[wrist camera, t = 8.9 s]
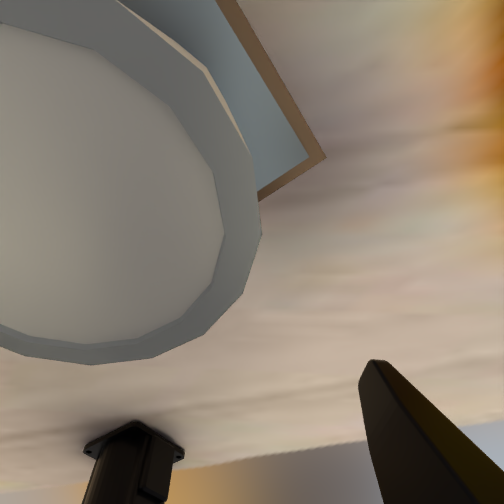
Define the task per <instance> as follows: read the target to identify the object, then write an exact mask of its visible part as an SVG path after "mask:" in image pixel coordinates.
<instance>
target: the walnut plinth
mask: <svg viewBox="0 0 504 504" xmlns="http://www.w3.org/2000/svg"><path fill="white" fill-rule="evenodd" d="M117 1H119V2H120V3H122V4H123V5H124V6H126V7H127V8H129V9H130V10H132V11H133V12H134V13H136V14H137V15H139V16H140V17H141V18H143V19H144V20H146V21H147V22H149V23H150V24H151V25H153V26H154V27H156V28H157V29H158V30H160V31H161V32H163V33H164V34H166V35H167V36H168V37H170V38H171V39H173V40H174V41H175V42H177V43H178V44H179V45H180V46H181V47H183V48H184V49H185V50H186V51H187V52H189V53H190V54H191V55H192V56H193V57H195V58H196V59H197V60H198V61H200V62H201V63H202V64H203V65H204V66H206V67H207V69H208V71H209V73H210V74H211V76H212V78H213V80H214V81H215V83H216V85H217V87H218V89H219V90H220V92H221V94H222V96H223V97H224V99H225V101H226V103H227V105H228V107H229V109H230V112H231V114H232V116H233V118H234V120H235V122H236V124H237V126H238V128H239V131H240V133H241V135H242V137H243V139H244V141H245V143H246V145H247V147H248V150H249V152H250V154H251V156H252V158H253V166H254V174H255V182H256V190H257V198H258V202H259V201H261V200H262V199H264V198H265V197H267V196H269V195H270V194H272V193H273V192H275V191H276V190H278V189H279V188H281V187H282V186H284V185H285V184H287V183H289V182H290V181H292V180H293V179H295V178H296V177H298V176H299V175H301V174H302V173H304V172H305V171H307V170H309V169H310V168H312V167H313V166H315V165H316V164H318V163H319V162H321V161H322V160H324V159H326V156H325V154H324V152H323V151H322V149H321V147H320V145H319V144H318V142H317V140H316V138H315V137H314V135H313V133H312V132H311V130H310V128H309V126H308V125H307V123H306V121H305V119H304V118H303V116H302V114H301V112H300V111H299V109H298V107H297V106H296V104H295V102H294V100H293V99H292V97H291V95H290V93H289V92H288V90H287V88H286V86H285V85H284V83H283V81H282V80H281V78H280V76H279V74H278V73H277V71H276V69H275V67H274V66H273V64H272V62H271V60H270V59H269V57H268V55H267V54H266V52H265V50H264V48H263V47H262V45H261V43H260V41H259V40H258V38H257V36H256V35H255V33H254V31H253V29H252V28H251V26H250V24H249V22H248V21H247V19H246V17H245V15H244V14H243V12H242V10H241V9H240V7H239V5H238V3H237V2H236V0H117Z"/></svg>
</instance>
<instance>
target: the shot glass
mask: <svg viewBox="0 0 504 504" xmlns="http://www.w3.org/2000/svg"><path fill="white" fill-rule="evenodd" d="M261 236H262V230H261V222H260V214H259V206H258V198H257V190H256V182H255V174H254V166H253V158H252V156H251V154H250V152H249V150H248V147H247V145H246V143H245V141H244V139H243V137H242V135H241V133H240V131H239V128H238V126H237V124H236V122H235V120H234V118H233V116H232V114H231V112H230V109H229V107H228V105H227V103H226V101H225V99H224V97H223V96H222V94H221V92H220V90H219V89H218V87H217V85H216V83H215V81H214V80H213V78H212V76H211V74H210V73H209V71H208V69H207V67H206V66H204V65H203V64H202V63H201V62H200V61H198V60H197V59H196V58H195V57H193V56H192V55H191V54H190V53H189V52H187V51H186V50H185V49H184V48H183V47H181V46H180V45H179V44H178V43H177V42H175V41H174V40H173V39H171V38H170V37H168V36H167V35H166V34H164V33H163V32H161V31H160V30H158V29H157V28H156V27H154V26H153V25H151V24H150V23H149V22H147V21H146V20H144V19H143V18H141V17H140V16H139V15H137V14H136V13H134V12H133V11H132V10H130V9H129V8H127V7H126V6H124V5H123V4H122V3H120V2H119V1H117V0H0V347H3V348H5V349H8V350H11V351H13V352H16V353H18V354H21V355H24V356H28V357H35V358H42V359H49V360H57V361H64V362H71V363H78V364H85V365H99V364H107V363H116V362H124V361H132V360H141V359H149V358H153V357H156V356H158V355H160V354H162V353H164V352H167V351H169V350H171V349H173V348H175V347H177V346H180V345H182V344H184V343H186V342H188V341H191V340H193V339H195V338H197V337H199V336H202V335H204V334H205V333H206V332H207V330H208V329H209V328H210V327H211V326H212V325H213V324H214V323H215V322H216V321H217V320H218V319H219V318H220V317H221V316H222V315H223V314H224V313H225V312H226V310H227V309H228V308H229V307H230V306H231V305H232V304H233V303H234V302H235V301H236V300H237V299H238V298H239V297H240V296H241V295H242V294H243V291H244V288H245V285H246V282H247V279H248V276H249V273H250V269H251V266H252V263H253V260H254V257H255V254H256V251H257V248H258V245H259V242H260V239H261Z"/></svg>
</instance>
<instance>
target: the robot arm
mask: <svg viewBox="0 0 504 504" xmlns="http://www.w3.org/2000/svg"><path fill="white" fill-rule="evenodd" d="M358 390H359V396H360V402H361V407H362V413H363V419H364V425H365V430H366V436H367V442H368V446H369V451H370V455H371V459H372V463H373V466H374V470H375V474H376V477H377V480H378V484H379V488H380V491H381V495H382V498H383V502H384V504H504V471H503V470H502V469H501V468H499V466H497V465H496V464H495V463H494V462H493V461H492V460H491V459H490V458H489V457H488V456H487V455H486V454H485V453H484V452H483V451H482V450H480V448H478V447H477V446H476V445H475V444H474V443H473V442H472V441H471V440H470V439H469V438H468V437H467V436H466V435H465V434H463V432H462V431H460V430H459V429H458V428H457V427H456V426H455V425H454V424H453V423H452V422H451V421H450V420H449V419H448V418H447V417H446V416H445V415H444V414H443V413H442V412H440V411H439V410H438V409H437V408H436V407H435V406H434V405H433V404H432V403H431V402H430V401H429V400H428V399H427V398H426V397H425V396H424V395H423V394H421V393H420V392H419V391H418V390H417V389H416V388H415V387H414V386H413V385H412V384H411V383H410V382H409V381H408V380H407V379H406V378H405V377H404V376H402V375H401V374H400V373H399V372H398V371H397V370H396V369H395V368H394V367H393V366H392V365H391V364H390V363H389V362H387V361H385V360H375V359H372V360H370V361H368V363H367V365H366V367H365V369H364V371H363V373H362V375H361V377H360V379H359V383H358ZM83 453H84V454H86V455H88V456H90V457H92V458H94V459H95V460H96V462H95V465H94V468H93V471H92V474H91V477H90V480H89V483H88V486H87V489H86V492H85V495H84V499H83V501H82V504H164V502H166V501H167V499H168V492H169V486H170V479H171V472H172V466H173V463H175V462H178V461H180V460H182V459H184V455H185V452H184V451H183V450H182V449H180V448H178V447H177V446H175V445H174V444H172V443H171V442H169V441H168V440H166V439H164V438H163V437H161V436H160V435H158V434H157V433H155V432H154V431H152V430H150V429H149V428H147V427H146V426H144V425H143V424H141V423H139V422H131V423H129V424H127V425H125V426H123V427H121V428H119V429H117V430H115V431H113V432H111V433H109V434H107V435H105V436H103V437H101V438H99V439H97V440H95V441H93V442H91V443H89V444H87V445H86V446H85V447H84V450H83Z"/></svg>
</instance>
